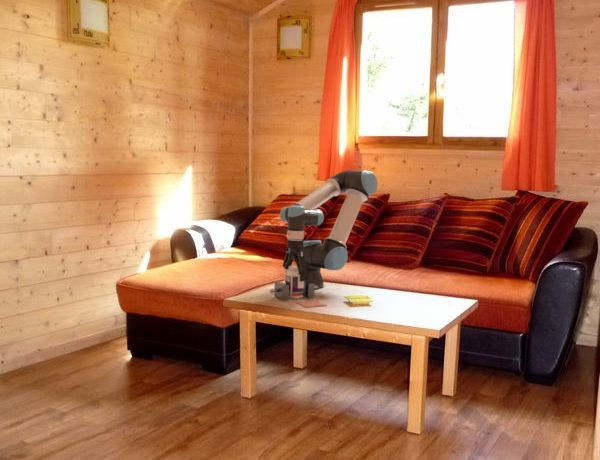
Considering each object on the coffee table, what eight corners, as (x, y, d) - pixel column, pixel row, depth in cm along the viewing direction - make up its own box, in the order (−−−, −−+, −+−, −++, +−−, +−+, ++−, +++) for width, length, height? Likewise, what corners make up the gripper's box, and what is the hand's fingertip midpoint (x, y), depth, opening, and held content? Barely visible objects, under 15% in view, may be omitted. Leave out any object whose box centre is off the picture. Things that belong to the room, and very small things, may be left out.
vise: (312, 293, 304) (312, 279, 303) (321, 297, 296) (322, 282, 295) (266, 297, 293) (266, 282, 292) (274, 301, 285) (274, 286, 284)
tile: (315, 300, 288) (315, 299, 288) (326, 305, 279) (326, 304, 279) (296, 302, 284) (296, 301, 284) (306, 307, 275) (306, 306, 275)
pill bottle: (305, 296, 297) (305, 265, 295) (299, 300, 289) (300, 268, 288) (288, 295, 299) (289, 264, 298) (282, 298, 292) (283, 267, 290)
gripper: (276, 236, 300) (275, 280, 303) (300, 243, 278) (298, 291, 281) (290, 236, 304) (289, 280, 306) (315, 242, 282) (313, 290, 284)
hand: (293, 285), depth 293 cm, fingers open, 13 cm apart
